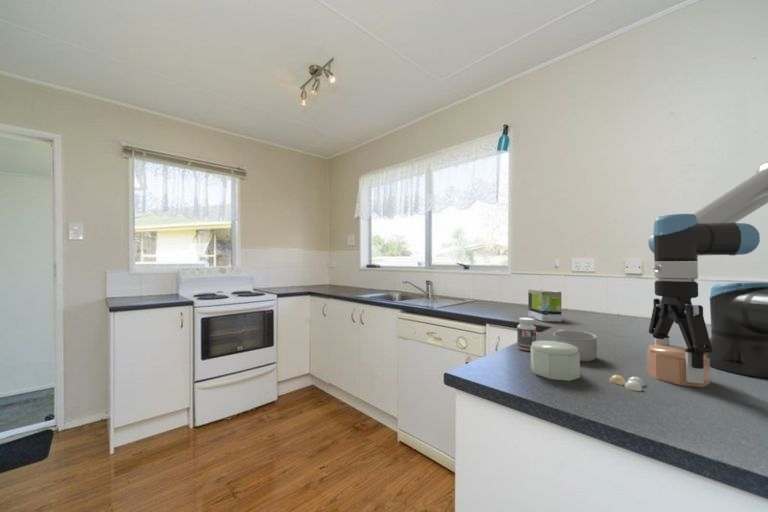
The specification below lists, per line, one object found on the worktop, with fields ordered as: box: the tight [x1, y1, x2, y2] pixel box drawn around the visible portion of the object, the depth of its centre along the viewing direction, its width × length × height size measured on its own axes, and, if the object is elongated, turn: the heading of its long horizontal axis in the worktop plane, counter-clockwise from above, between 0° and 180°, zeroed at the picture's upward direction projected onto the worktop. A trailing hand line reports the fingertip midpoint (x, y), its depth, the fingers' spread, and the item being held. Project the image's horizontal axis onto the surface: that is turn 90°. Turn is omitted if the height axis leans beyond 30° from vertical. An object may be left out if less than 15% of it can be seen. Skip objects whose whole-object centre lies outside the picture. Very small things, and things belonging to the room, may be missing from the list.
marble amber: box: [609, 374, 627, 386], centre depth 70 cm, size 3×3×3 cm
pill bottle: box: [516, 317, 537, 352], centre depth 103 cm, size 6×6×10 cm
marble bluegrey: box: [626, 376, 645, 388], centre depth 69 cm, size 3×3×3 cm
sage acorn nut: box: [530, 340, 581, 382], centre depth 77 cm, size 10×10×8 cm
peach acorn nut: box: [646, 343, 711, 388], centre depth 73 cm, size 10×10×8 cm
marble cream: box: [624, 380, 643, 392], centre depth 67 cm, size 3×3×3 cm
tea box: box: [527, 288, 563, 323], centre depth 158 cm, size 15×10×15 cm
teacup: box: [552, 329, 598, 362], centre depth 91 cm, size 14×11×8 cm
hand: (677, 372), depth 73 cm, fingers open, 11 cm apart
